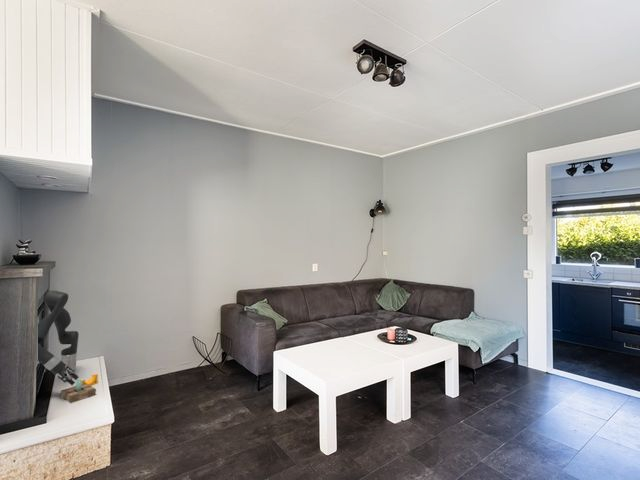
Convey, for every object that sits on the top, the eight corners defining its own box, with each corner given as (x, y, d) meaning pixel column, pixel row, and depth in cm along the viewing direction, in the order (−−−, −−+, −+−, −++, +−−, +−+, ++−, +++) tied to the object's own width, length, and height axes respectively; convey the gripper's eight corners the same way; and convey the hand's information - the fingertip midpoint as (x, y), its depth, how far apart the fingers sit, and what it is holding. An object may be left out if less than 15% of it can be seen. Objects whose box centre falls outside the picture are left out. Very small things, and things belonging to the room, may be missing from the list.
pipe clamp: (92, 382, 238) (92, 373, 238) (97, 383, 237) (97, 374, 237) (76, 389, 227) (77, 379, 227) (82, 390, 226) (82, 380, 226)
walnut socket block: (60, 396, 215) (61, 390, 215) (85, 389, 227) (85, 383, 227) (70, 403, 208) (71, 396, 208) (95, 395, 220) (95, 389, 220)
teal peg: (74, 395, 217) (75, 380, 217) (79, 394, 220) (80, 379, 220) (76, 397, 216) (77, 381, 216) (81, 395, 218) (82, 380, 218)
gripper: (56, 364, 207) (77, 381, 212) (63, 356, 220) (83, 372, 225) (45, 374, 205) (67, 390, 209) (53, 365, 218) (73, 381, 223)
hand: (75, 381), depth 217 cm, fingers open, 8 cm apart
